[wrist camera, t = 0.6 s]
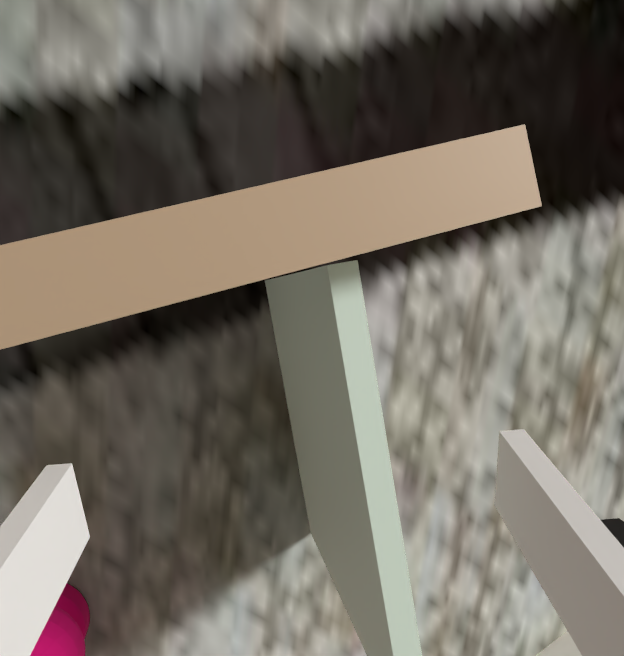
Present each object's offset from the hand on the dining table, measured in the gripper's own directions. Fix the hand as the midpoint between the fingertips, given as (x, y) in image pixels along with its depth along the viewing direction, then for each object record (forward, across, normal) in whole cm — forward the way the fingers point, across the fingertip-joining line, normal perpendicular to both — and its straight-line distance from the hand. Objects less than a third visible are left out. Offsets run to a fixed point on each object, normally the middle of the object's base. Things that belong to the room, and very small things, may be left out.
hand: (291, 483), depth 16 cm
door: (+22, +1, -9) cm, 24 cm away
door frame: (+23, -12, 0) cm, 26 cm away
